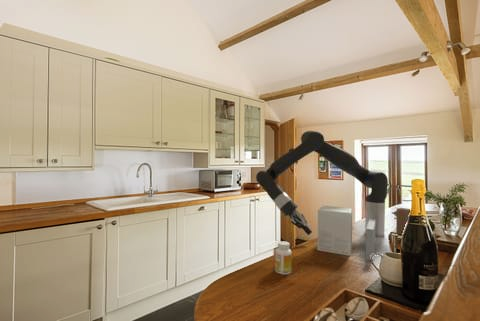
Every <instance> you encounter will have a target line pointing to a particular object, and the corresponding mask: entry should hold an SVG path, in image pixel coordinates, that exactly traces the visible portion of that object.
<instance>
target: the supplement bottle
mask: <svg viewBox="0 0 480 321" xmlns="http://www.w3.org/2000/svg"><path fill="white" fill-rule="evenodd" d="M290 245H291V244H290V242H288V241H284V240H283V241H281V240H280V241H277V248H276V249H275V259H274V260H275V264H274V265H275V266H274V268H275V269H274V270H275V272H276V273H277V274H280V275H285V276H286V275H290V274H291V273H292V256H293V255H292V254H293V253H292V250H291V249H290Z"/></svg>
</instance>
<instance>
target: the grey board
mask: <svg viewBox="0 0 480 321" xmlns="http://www.w3.org/2000/svg"><path fill="white" fill-rule="evenodd" d="M375 227H376V219H371V218H370V219H369V222H368V225H367V228H366V233H365V235H366V237H365V242H366V243H365V260H367V261H371V260H370V255H371V254H372V253H374V254H375V249H376V236H375Z"/></svg>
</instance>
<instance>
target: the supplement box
mask: <svg viewBox="0 0 480 321" xmlns="http://www.w3.org/2000/svg"><path fill="white" fill-rule="evenodd" d="M352 241H353V207H343V206H342V207H341V206H332V205H322V206H321V207H319V208H318V209H317V242H316V243H317V244H316V246H317V247H316V251H318V252H319V251H320V252H324V253H331V254H336V255H337V254H338V255H342V256H348V257H350V256H351V253H352V249H353V248H352V247H353V246H352V244H353V242H352Z"/></svg>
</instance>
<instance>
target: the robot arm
mask: <svg viewBox="0 0 480 321" xmlns="http://www.w3.org/2000/svg"><path fill="white" fill-rule="evenodd" d="M300 142H301V143H300V144H299V145H297V146H296V147H294V148H293V149H292V150H290V151H288V152H286V153H284V154H282V155H281V156H279V157H278V158H276V159H275V160H274V161H273V162H272V163H271V164H270V166H269V167H268V168H267V169H266V170H259V171H258V172H257V173H256V176H255V180H256V182H257V183H258V184H259V185H260V186H261V188H262V189H263V190H264V191H265V192H266V193H267V195H268V197H270V199H271V200H272V202H274V204H275V206H276V207H277V208H278V210H279V211H280V212H281V213H282V214H283V216H284V217H288V216H289V218H290V222H291V223H290V224H293V225H294V226H295V227H297V228H299V229H301V230H303V231H304V233H305V234H306V235H307V236H309V235H310V234H312V232H313V231H312V229H310V227H309V226H308V221H307V220H306V217H305V215H304V214H303V213H300V212H299V211H298V210H297V209H298V205H297V204H296V202H294V201H293V199H292V198H291V197H290V196H289V195H288V194H287V193H286V192H285V191H284V190H283V189H282V188H281V186H279V184H278V183H277V182H276V181H275V180H276V179H278V178H279V176H280V175H282V174H283V173H284V172H286V171H287V170H288V169H290V168H291V167H292V166H293V165H294V164H296V163H297V162H298V161H300V160H301V159H303V158H305V157H306V156H309V154H311V153H313V152H314V153H317V154H318V155H320V156H321V157H322V158H324V159H326V160H327V162H329V163H331V164H332V165H333V166H335V167H336V168H338V169H340V170H341V171H343V172H345V173H346V174H348V175H349V176H352V178H355V179H356V180H358V181H359V182H360V183H361V184H362V185H363V186H365V187H366V188H368V189H371V191H370V193H369V194H368V195H365V204H364V205H365V209H364V210H365V213H364V217H365V218H364V233H365V234H366V228H367V225H368V222H369V219H370V218H371V219H376V227H375V237H383V236H385V231H386V228H385V226H386V225H385V224H386V220H385V219H386V199H387V196H388V186H389V179H388V176H387V175H386V174H385V172H383V171H382V172H381V171H371V170H369V169H366V168H365V167H364V166H362V165H361V164H360V163H359V161H358V160H357V158H356V157H355V156H354V155H352V153H349V152H348V151H346V150H344V149H342V148H340V147H338V146H336V145H334V144H332V143H329V142H327V141H326V140H325V137H324V134H322V133H321V132H320V131H317V130H307V131H305V132H303V133H302V134H301V137H300Z"/></svg>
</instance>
